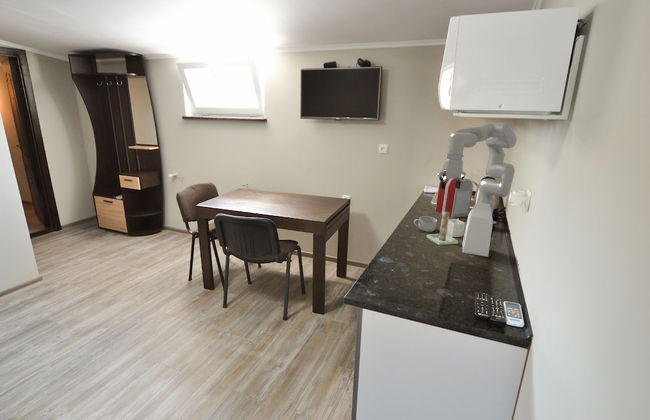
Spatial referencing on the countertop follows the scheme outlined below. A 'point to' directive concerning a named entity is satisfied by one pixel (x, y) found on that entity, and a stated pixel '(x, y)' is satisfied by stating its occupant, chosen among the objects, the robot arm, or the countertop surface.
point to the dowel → (444, 226)
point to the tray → (448, 241)
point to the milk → (478, 230)
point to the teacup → (426, 223)
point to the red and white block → (454, 198)
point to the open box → (455, 228)
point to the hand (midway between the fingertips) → (449, 188)
